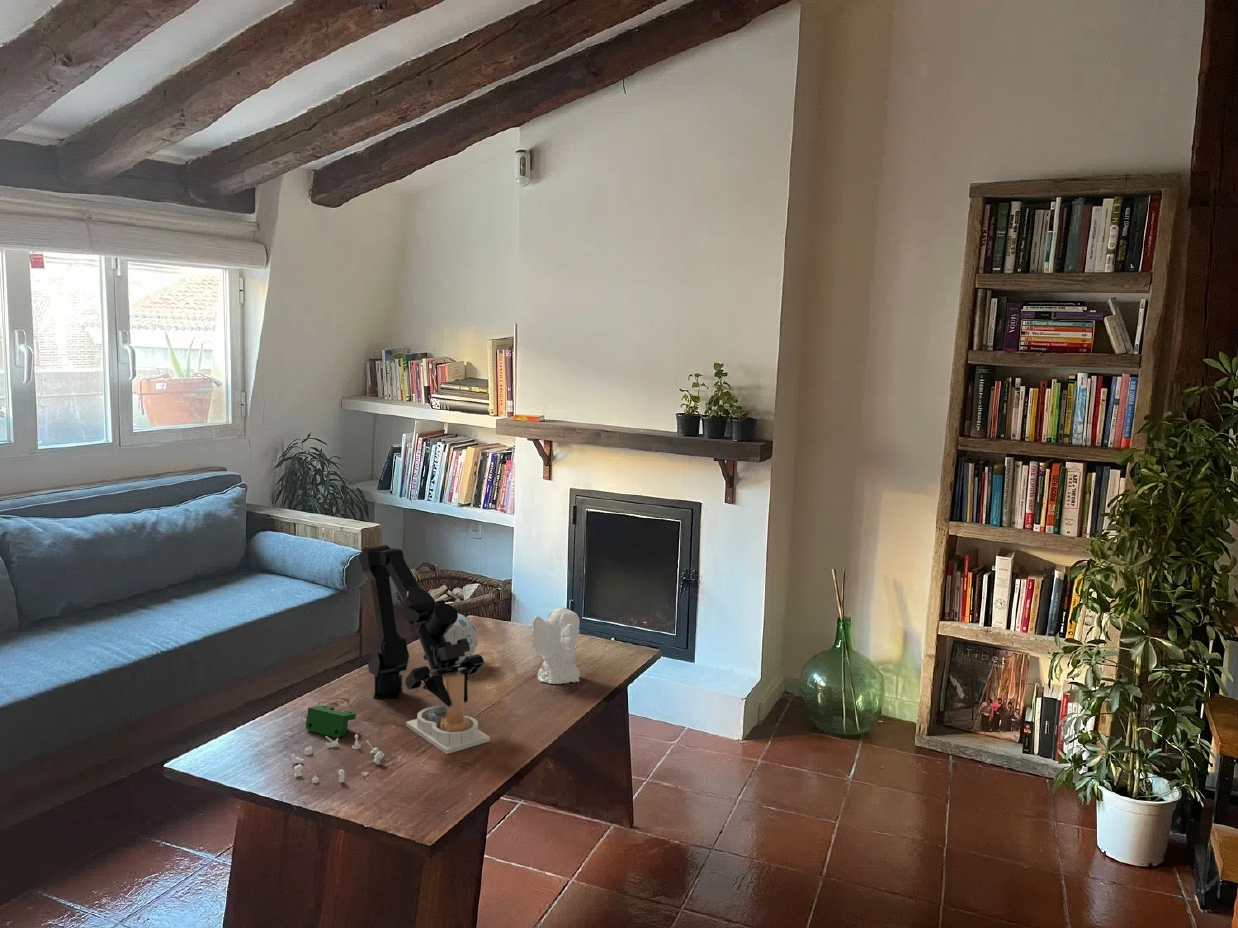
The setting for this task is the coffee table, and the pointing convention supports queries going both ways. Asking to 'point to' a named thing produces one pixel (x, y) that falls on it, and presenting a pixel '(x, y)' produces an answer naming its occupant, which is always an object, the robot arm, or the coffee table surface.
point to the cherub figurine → (557, 646)
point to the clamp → (328, 720)
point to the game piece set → (309, 749)
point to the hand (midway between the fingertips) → (458, 703)
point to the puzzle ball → (463, 635)
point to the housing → (443, 740)
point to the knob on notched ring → (455, 705)
